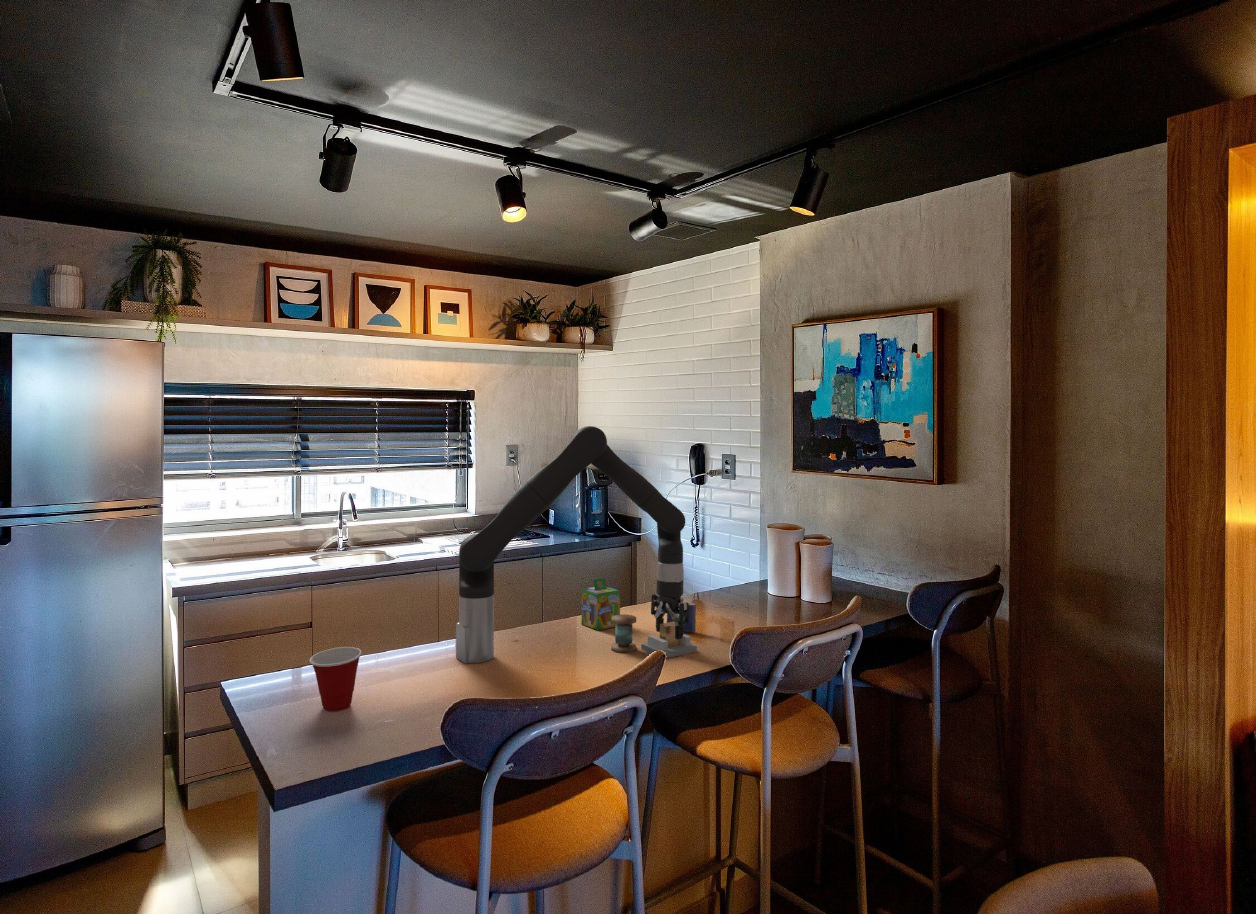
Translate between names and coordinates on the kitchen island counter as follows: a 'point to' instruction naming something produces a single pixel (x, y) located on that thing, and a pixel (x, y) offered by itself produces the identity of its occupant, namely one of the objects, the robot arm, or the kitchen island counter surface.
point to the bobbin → (623, 633)
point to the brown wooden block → (669, 633)
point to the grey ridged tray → (661, 644)
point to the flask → (692, 619)
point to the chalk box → (600, 606)
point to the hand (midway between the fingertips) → (669, 634)
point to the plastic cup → (336, 676)
